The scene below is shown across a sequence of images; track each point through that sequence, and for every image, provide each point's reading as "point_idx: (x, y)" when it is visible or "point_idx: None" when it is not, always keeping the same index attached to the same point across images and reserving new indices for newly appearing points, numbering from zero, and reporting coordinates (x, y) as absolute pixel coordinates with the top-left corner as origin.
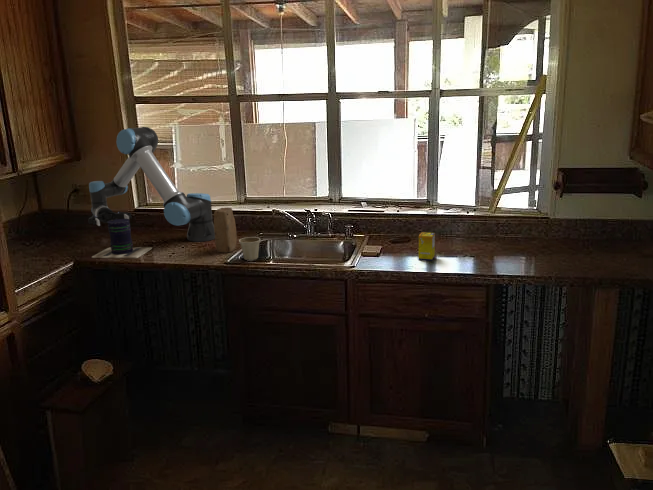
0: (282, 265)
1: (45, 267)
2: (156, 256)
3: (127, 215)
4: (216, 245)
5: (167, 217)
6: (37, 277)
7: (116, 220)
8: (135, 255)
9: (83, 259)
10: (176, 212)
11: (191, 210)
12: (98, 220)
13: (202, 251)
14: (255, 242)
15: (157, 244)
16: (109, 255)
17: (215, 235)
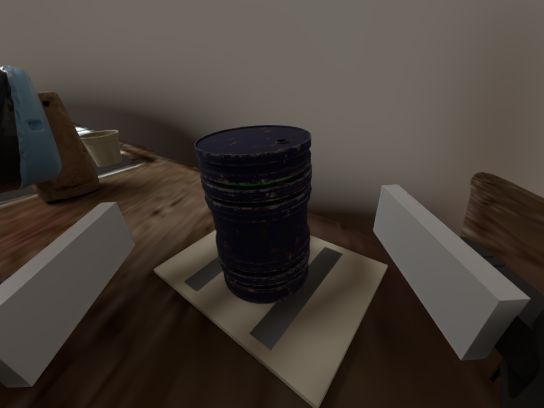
0: (122, 148)
1: (536, 241)
2: (201, 209)
3: (79, 223)
4: (96, 173)
5: (52, 145)
6: (483, 190)
7: (257, 145)
8: None
9: None
10: (43, 113)
11: None
12: (390, 186)
13: (105, 202)
14: (105, 132)
15: (80, 326)
16: (318, 249)
17: (86, 152)
